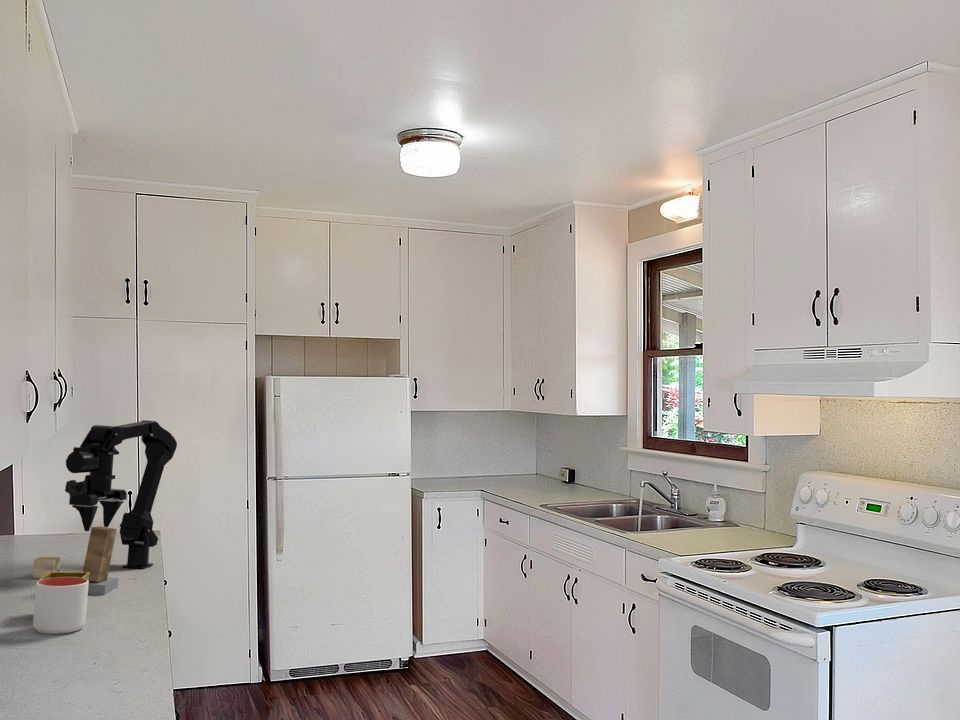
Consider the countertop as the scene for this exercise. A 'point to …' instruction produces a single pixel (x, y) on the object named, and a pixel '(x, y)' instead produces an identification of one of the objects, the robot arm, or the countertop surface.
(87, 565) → the walnut block
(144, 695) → the countertop surface
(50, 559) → the maple cube
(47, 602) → the cup
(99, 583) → the grey base block
